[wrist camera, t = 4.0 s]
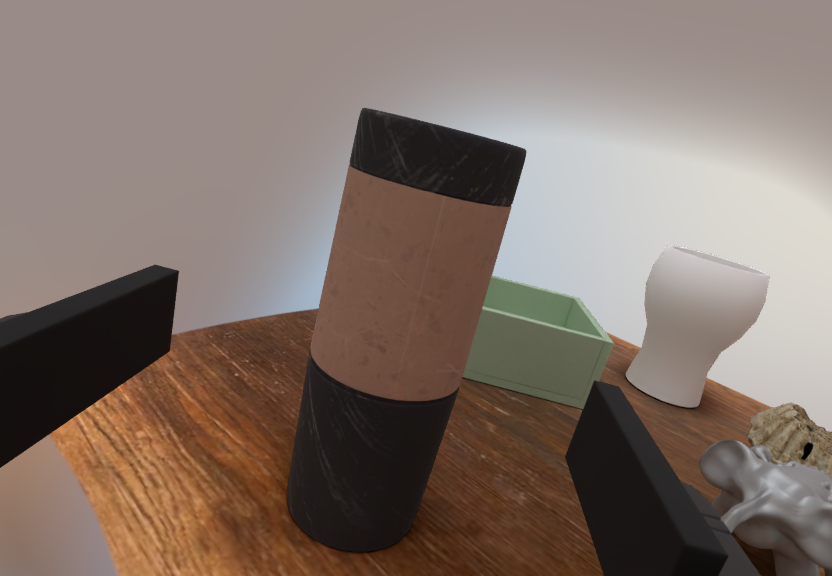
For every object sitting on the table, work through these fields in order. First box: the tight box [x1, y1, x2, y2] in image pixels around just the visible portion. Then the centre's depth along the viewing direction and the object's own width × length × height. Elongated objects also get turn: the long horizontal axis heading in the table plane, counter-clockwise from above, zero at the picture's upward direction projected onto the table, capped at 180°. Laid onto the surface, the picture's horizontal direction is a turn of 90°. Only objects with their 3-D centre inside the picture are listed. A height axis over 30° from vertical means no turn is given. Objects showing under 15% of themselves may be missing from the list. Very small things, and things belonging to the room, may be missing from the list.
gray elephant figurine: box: [699, 440, 832, 576], centre depth 28 cm, size 9×12×8 cm
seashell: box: [748, 403, 832, 478], centre depth 41 cm, size 11×7×10 cm
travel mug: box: [287, 108, 526, 552], centre depth 25 cm, size 8×8×20 cm
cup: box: [626, 245, 769, 408], centre depth 54 cm, size 11×11×15 cm
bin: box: [463, 275, 614, 409], centre depth 52 cm, size 14×14×7 cm
